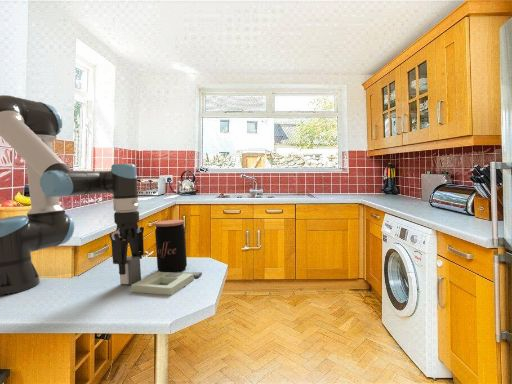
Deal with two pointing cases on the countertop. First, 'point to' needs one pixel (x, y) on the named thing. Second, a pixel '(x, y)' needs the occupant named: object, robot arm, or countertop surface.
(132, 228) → the robot arm
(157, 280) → the outlet plate
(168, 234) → the coffee jar
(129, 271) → the block
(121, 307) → the countertop surface
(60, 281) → the countertop surface
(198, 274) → the phone
